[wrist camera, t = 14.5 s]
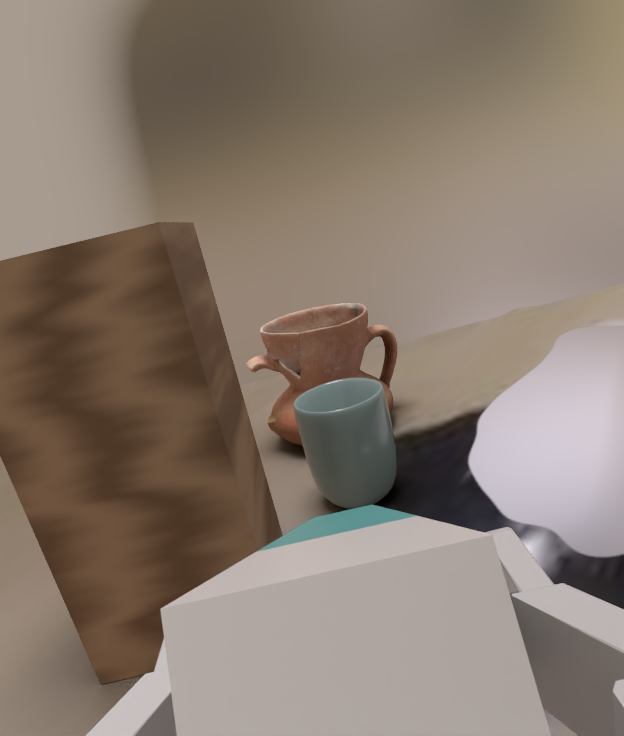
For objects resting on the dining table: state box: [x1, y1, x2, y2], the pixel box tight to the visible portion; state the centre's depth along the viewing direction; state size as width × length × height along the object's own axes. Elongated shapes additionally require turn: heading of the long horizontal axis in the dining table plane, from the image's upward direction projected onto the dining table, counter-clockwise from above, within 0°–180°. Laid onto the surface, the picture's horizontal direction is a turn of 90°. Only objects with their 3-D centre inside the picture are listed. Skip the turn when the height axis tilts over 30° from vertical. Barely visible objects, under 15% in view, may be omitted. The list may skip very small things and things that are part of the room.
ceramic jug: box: [246, 303, 397, 445], centre depth 60 cm, size 18×14×14 cm
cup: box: [293, 378, 397, 509], centre depth 45 cm, size 8×8×10 cm
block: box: [160, 505, 551, 736], centre depth 15 cm, size 3×22×3 cm, turn 3°
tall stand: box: [0, 222, 283, 684], centre depth 34 cm, size 12×10×26 cm
